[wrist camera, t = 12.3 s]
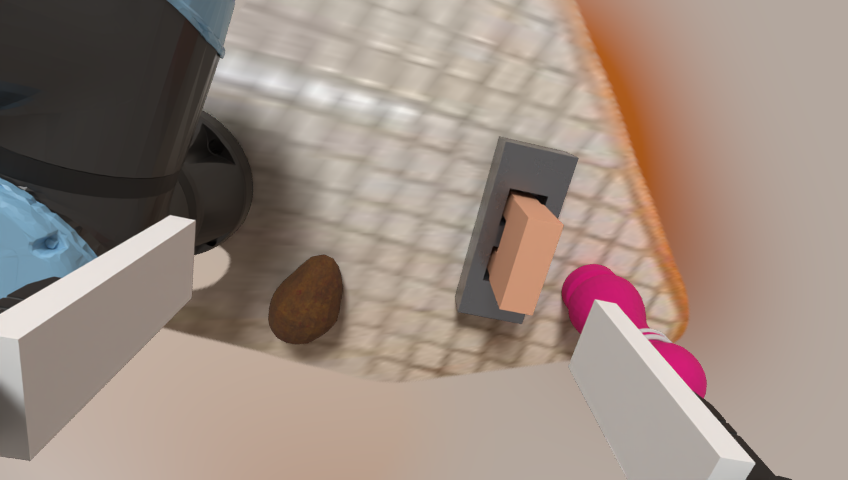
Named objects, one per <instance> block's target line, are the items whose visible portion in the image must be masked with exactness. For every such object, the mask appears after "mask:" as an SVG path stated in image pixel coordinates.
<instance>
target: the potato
mask: <svg viewBox="0 0 848 480" xmlns="http://www.w3.org/2000/svg"><path fill="white" fill-rule="evenodd" d="M342 289H343V285H342V277H341V273H340V270H339V266H338V265H337V264H336V262H335V261H334V259H333V258H331V257H328V256H326V255H319V256H313V257H311V258H309V259H308V260H307V261H306V262H304V263H303V264H302V265H301V266H300V267H299V268H298V269H297V270H296V271H294V272H293V273H292V274H291V275H290V276H289V277H288V278H287V279H285V280H284V281H283V282H282V284H281V285H280V286H279V287H278V288H277V290H276V291H275V293H274V295H273V297H272V299H271V303H270V307H269V317H268V320H269V325H270V328H271V330H272V332H273V333H274V334H275V336H276V337H277V338H278V339H280V340H282V341H284V342H286V343H292V344H306V343H309V342H311V341H313V340H315V339H316V338H318V337H320V336H322V335H323V334H325V333H326V332H327V331H328V330H329V329H330V328H331V327H332V326H333V325H334V324H335V322H336V321H337V318H338V314H339V309H340V303H341V298H342Z"/></svg>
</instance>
